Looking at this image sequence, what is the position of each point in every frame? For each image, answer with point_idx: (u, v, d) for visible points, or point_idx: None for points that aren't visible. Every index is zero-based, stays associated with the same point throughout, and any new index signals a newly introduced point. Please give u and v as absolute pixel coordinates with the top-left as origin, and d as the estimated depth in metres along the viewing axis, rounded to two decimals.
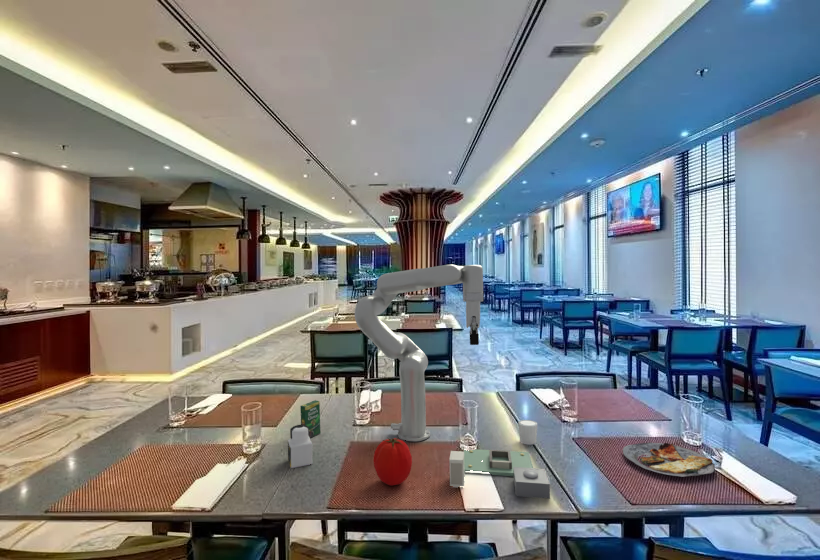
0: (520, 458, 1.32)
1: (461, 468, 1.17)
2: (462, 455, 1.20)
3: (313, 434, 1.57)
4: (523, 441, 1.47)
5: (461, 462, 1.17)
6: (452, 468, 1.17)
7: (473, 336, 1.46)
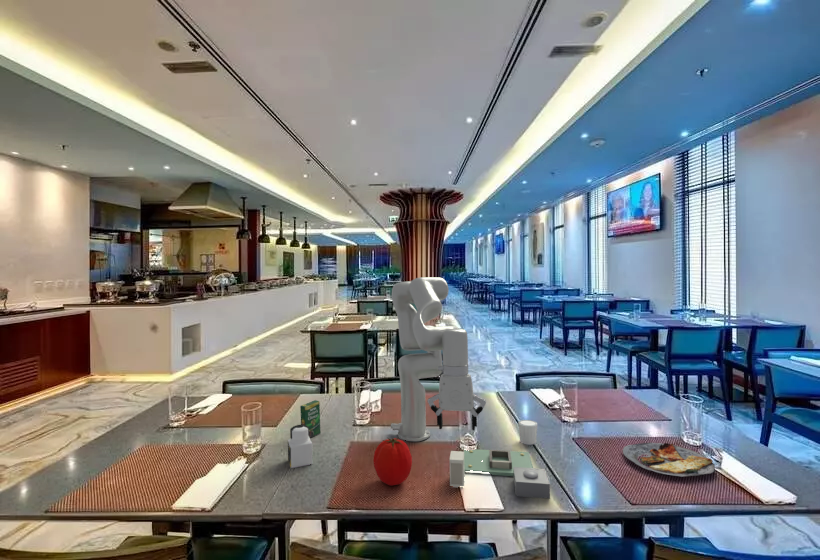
0: (520, 458, 1.32)
1: (461, 468, 1.17)
2: (462, 455, 1.20)
3: (313, 434, 1.57)
4: (523, 441, 1.47)
5: (461, 462, 1.17)
6: (452, 468, 1.17)
7: (476, 418, 1.18)
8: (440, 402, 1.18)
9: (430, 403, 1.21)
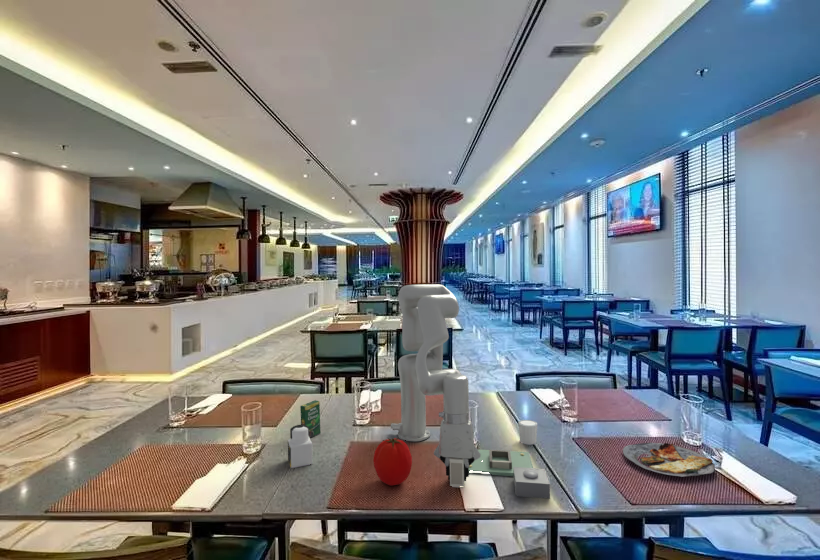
0: (520, 458, 1.32)
1: (461, 468, 1.17)
2: None
3: (313, 434, 1.57)
4: (523, 441, 1.47)
5: (461, 462, 1.17)
6: (452, 468, 1.17)
7: (468, 468, 1.19)
8: (441, 449, 1.18)
9: (437, 455, 1.20)
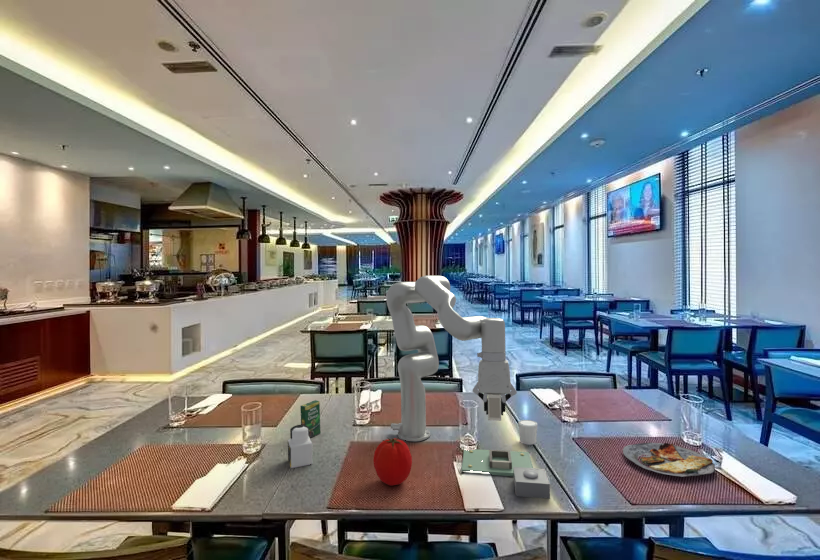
0: (520, 458, 1.32)
1: (499, 402, 1.26)
2: None
3: (313, 434, 1.57)
4: (523, 441, 1.47)
5: (499, 397, 1.26)
6: (490, 402, 1.26)
7: None
8: (479, 385, 1.28)
9: (476, 392, 1.30)
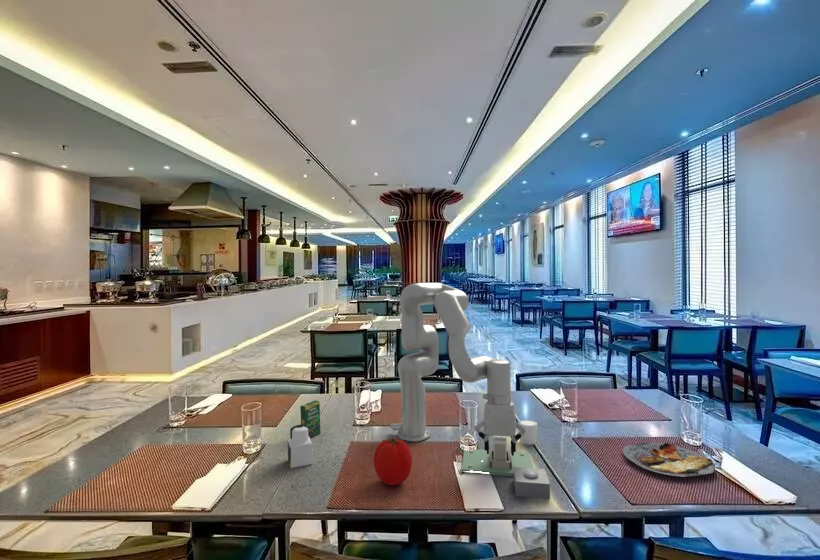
0: (520, 458, 1.32)
1: (504, 448, 1.27)
2: (504, 437, 1.30)
3: (313, 434, 1.57)
4: (523, 441, 1.47)
5: (504, 443, 1.27)
6: (496, 448, 1.28)
7: None
8: (485, 428, 1.29)
9: (477, 430, 1.31)
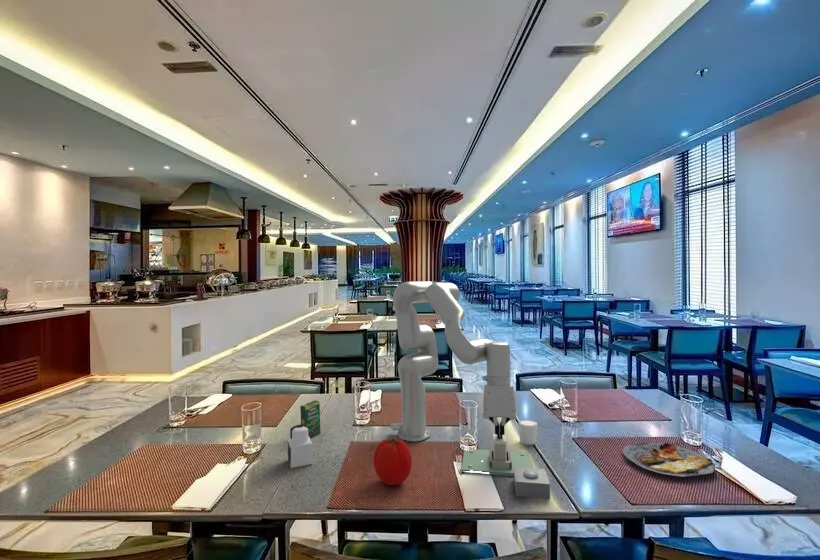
0: (520, 458, 1.32)
1: (504, 448, 1.27)
2: (504, 437, 1.30)
3: (313, 434, 1.57)
4: (523, 441, 1.47)
5: (504, 443, 1.27)
6: (496, 448, 1.28)
7: None
8: (485, 409, 1.29)
9: (486, 417, 1.31)
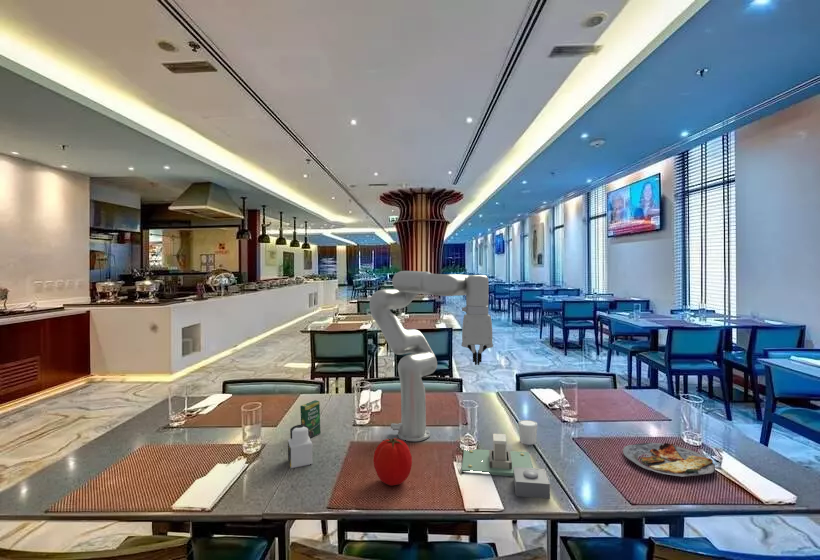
0: (520, 458, 1.32)
1: (504, 448, 1.27)
2: (504, 437, 1.30)
3: (313, 434, 1.57)
4: (523, 441, 1.47)
5: (504, 443, 1.27)
6: (496, 448, 1.28)
7: None
8: (463, 337, 1.37)
9: (465, 345, 1.39)
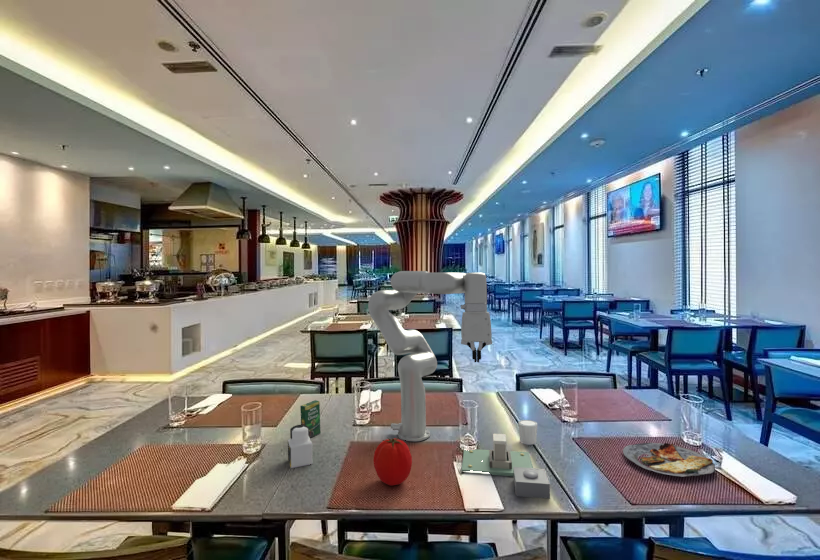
0: (520, 458, 1.32)
1: (504, 448, 1.27)
2: (504, 437, 1.30)
3: (313, 434, 1.57)
4: (523, 441, 1.47)
5: (504, 443, 1.27)
6: (496, 448, 1.28)
7: (480, 352, 1.38)
8: (462, 334, 1.37)
9: (464, 343, 1.39)
